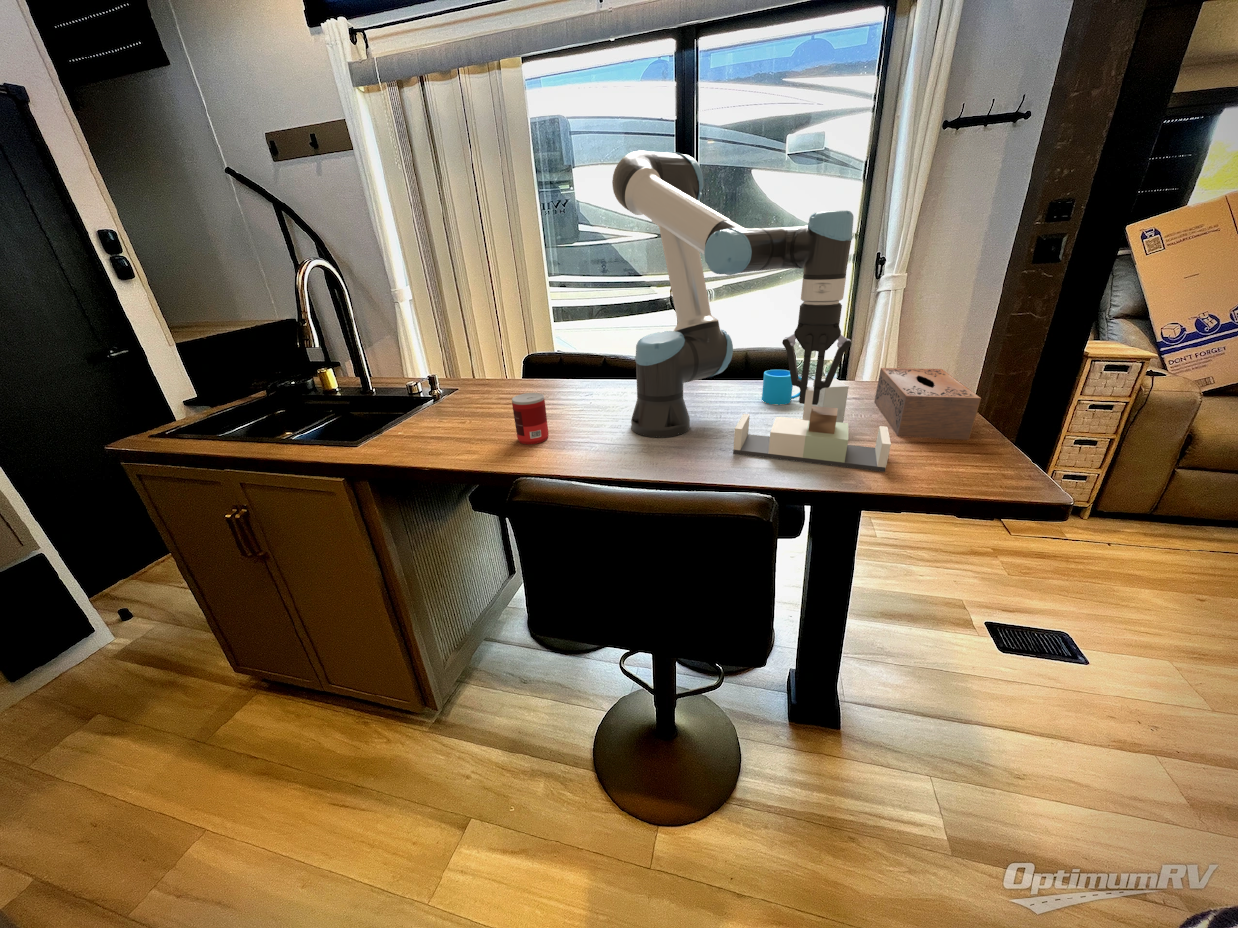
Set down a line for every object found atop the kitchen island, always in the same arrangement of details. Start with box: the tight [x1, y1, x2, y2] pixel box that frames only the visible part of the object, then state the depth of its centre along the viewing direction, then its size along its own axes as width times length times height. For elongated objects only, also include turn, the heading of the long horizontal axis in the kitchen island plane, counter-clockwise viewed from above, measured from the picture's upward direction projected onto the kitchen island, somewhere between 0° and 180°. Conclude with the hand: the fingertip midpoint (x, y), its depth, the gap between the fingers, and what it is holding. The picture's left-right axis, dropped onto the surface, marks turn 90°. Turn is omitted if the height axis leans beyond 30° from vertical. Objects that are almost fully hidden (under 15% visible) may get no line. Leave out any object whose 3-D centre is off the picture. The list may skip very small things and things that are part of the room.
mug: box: [761, 369, 802, 406], centre depth 135 cm, size 12×8×8 cm
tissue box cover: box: [874, 367, 982, 441], centre depth 117 cm, size 26×14×10 cm, turn 165°
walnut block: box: [808, 406, 838, 434], centre depth 99 cm, size 5×5×4 cm
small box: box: [812, 377, 850, 423], centre depth 117 cm, size 8×6×10 cm
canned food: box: [511, 392, 549, 446], centre depth 116 cm, size 8×8×11 cm
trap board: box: [733, 413, 892, 473], centre depth 102 cm, size 30×10×6 cm, turn 66°
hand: (806, 418), depth 100 cm, fingers closed
